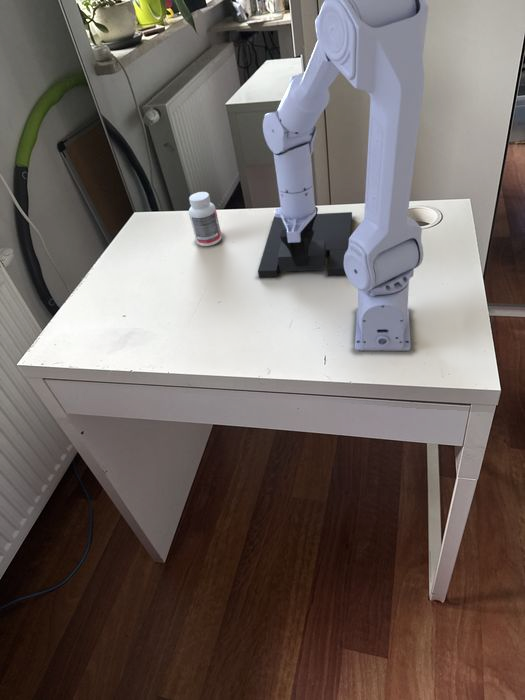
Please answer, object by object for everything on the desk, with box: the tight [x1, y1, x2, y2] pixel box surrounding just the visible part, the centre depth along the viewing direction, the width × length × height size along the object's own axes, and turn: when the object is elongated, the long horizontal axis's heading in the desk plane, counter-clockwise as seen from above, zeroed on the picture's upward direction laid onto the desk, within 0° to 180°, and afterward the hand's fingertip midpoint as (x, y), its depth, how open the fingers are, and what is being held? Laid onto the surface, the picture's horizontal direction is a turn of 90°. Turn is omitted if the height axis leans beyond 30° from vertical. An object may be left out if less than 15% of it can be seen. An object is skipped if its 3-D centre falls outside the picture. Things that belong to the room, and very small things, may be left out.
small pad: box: [278, 241, 327, 272], centre depth 94 cm, size 5×8×3 cm, turn 81°
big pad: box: [257, 211, 353, 279], centre depth 100 cm, size 20×16×2 cm
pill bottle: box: [188, 191, 223, 247], centre depth 105 cm, size 5×5×10 cm
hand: (303, 256), depth 94 cm, fingers closed on small pad, 5 cm apart
